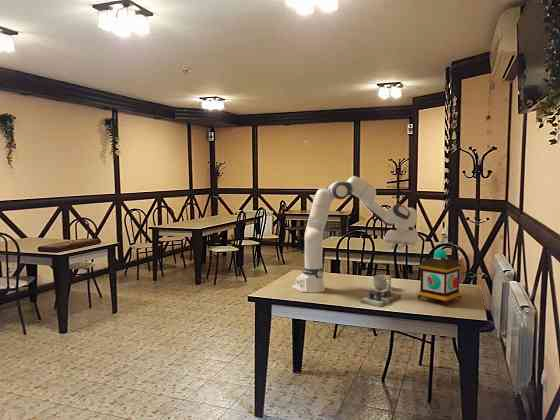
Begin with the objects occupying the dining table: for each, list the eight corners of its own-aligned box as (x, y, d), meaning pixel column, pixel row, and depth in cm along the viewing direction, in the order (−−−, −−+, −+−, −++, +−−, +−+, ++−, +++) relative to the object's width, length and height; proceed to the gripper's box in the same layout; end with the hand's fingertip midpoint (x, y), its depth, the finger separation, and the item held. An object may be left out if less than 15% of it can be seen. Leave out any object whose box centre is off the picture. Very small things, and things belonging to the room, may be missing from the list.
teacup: (391, 291, 262) (391, 279, 262) (373, 291, 264) (373, 278, 264) (389, 286, 276) (390, 274, 275) (372, 285, 278) (372, 273, 278)
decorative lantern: (464, 301, 241) (466, 248, 239) (447, 308, 228) (448, 252, 226) (431, 294, 256) (432, 244, 254) (413, 300, 243) (414, 248, 241)
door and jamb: (382, 294, 257) (382, 283, 257) (401, 298, 249) (401, 287, 248) (360, 302, 240) (360, 291, 239) (379, 307, 231) (379, 295, 231)
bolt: (387, 291, 252) (387, 274, 252) (392, 292, 250) (392, 275, 249) (378, 294, 245) (378, 277, 244) (383, 295, 243) (383, 278, 242)
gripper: (386, 226, 268) (378, 243, 262) (417, 228, 254) (409, 247, 248) (390, 232, 272) (382, 249, 265) (421, 235, 258) (413, 253, 252)
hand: (395, 248), depth 257 cm, fingers open, 3 cm apart
